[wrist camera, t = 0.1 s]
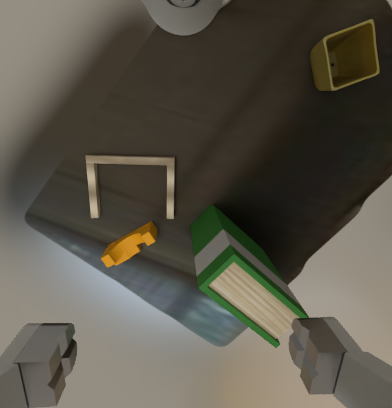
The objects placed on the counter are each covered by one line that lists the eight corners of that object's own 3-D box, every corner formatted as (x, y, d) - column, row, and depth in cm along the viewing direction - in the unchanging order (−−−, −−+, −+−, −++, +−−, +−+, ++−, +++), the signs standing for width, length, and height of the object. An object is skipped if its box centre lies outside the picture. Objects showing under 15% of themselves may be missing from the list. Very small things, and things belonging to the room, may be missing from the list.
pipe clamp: (119, 258, 61) (112, 273, 55) (108, 244, 60) (100, 258, 54) (161, 235, 60) (159, 247, 54) (151, 220, 59) (148, 231, 53)
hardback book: (262, 248, 63) (310, 319, 40) (241, 268, 64) (276, 347, 42) (212, 203, 59) (234, 253, 36) (190, 225, 60) (198, 287, 37)
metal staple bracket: (88, 154, 53) (85, 155, 52) (174, 157, 55) (174, 158, 53) (94, 214, 57) (91, 217, 56) (173, 215, 59) (173, 218, 57)
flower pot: (298, 51, 50) (323, 36, 42) (340, 35, 50) (374, 17, 42) (307, 96, 53) (332, 91, 44) (347, 82, 53) (380, 74, 44)
